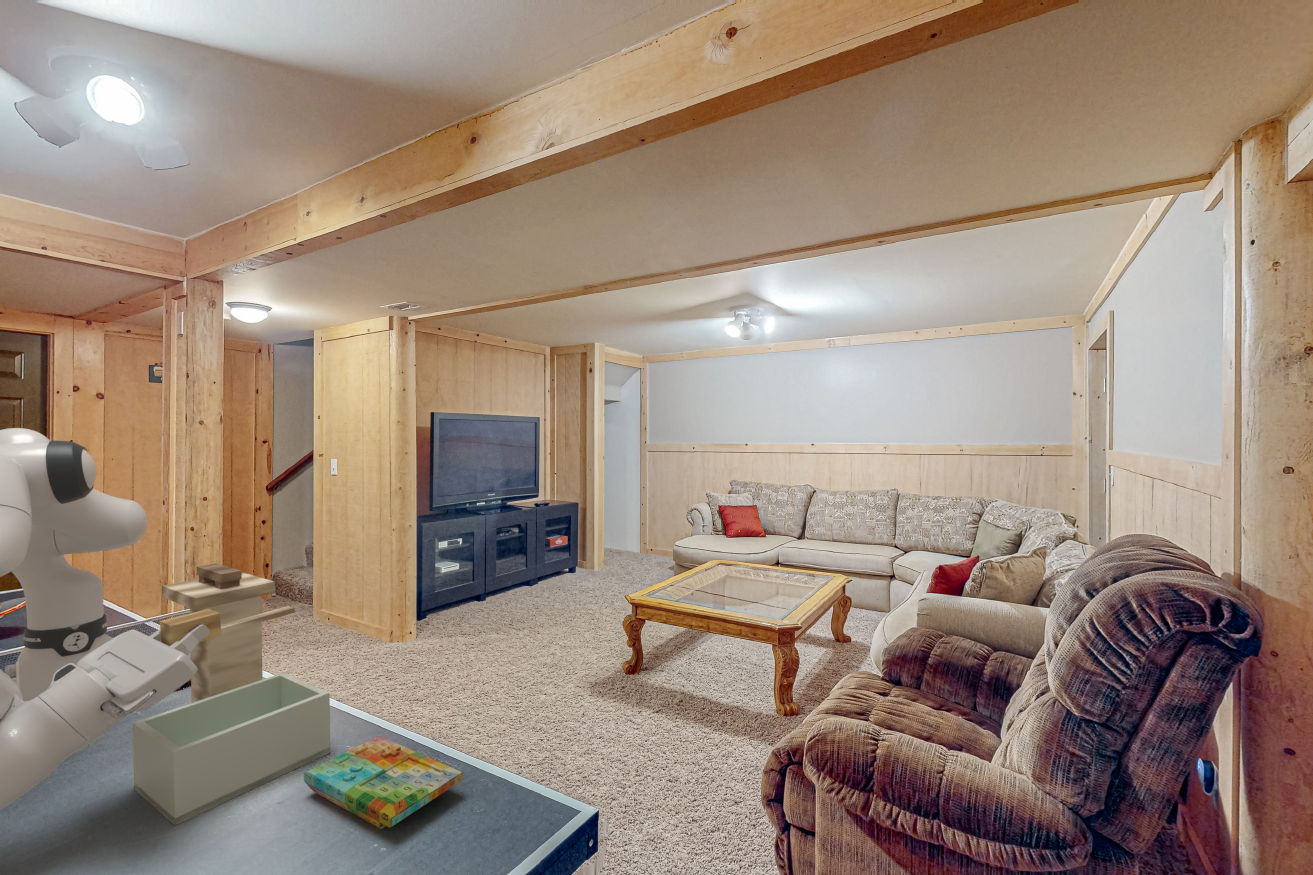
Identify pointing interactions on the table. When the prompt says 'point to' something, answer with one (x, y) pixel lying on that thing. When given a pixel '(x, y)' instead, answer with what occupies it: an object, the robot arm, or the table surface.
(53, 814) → the table surface
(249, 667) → the stand
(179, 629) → the tan wooden bar
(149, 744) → the bin
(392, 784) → the puzzle game
